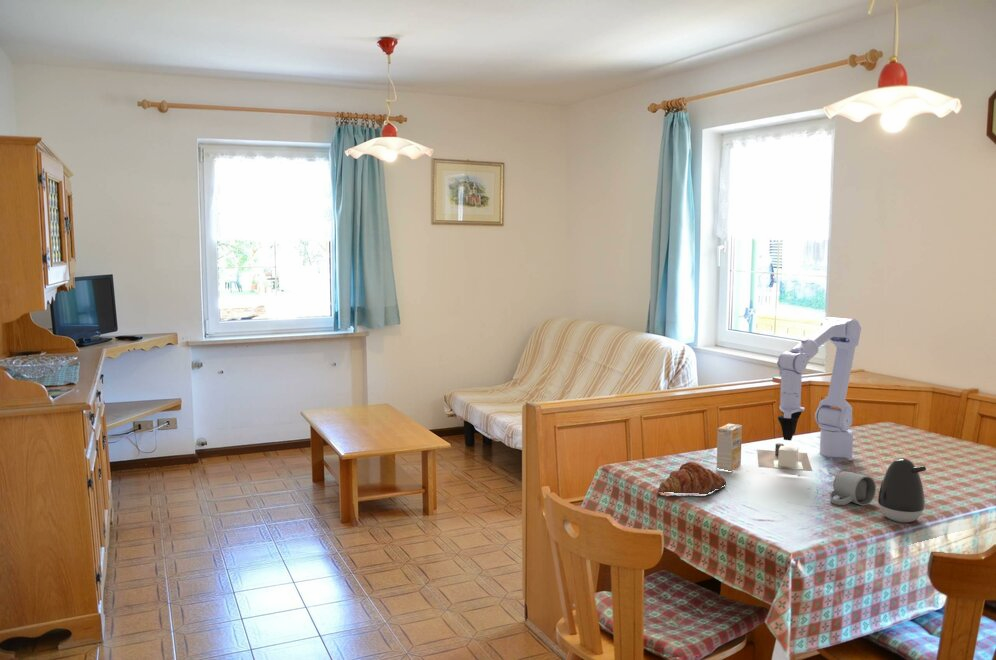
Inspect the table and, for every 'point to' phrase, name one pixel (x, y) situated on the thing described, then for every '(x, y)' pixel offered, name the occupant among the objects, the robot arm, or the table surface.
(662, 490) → the pastry
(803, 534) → the table surface
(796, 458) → the off-white matte cube
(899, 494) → the pump dispenser
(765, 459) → the walnut board
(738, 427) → the supplement box
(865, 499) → the ceramic mug
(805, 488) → the table surface
